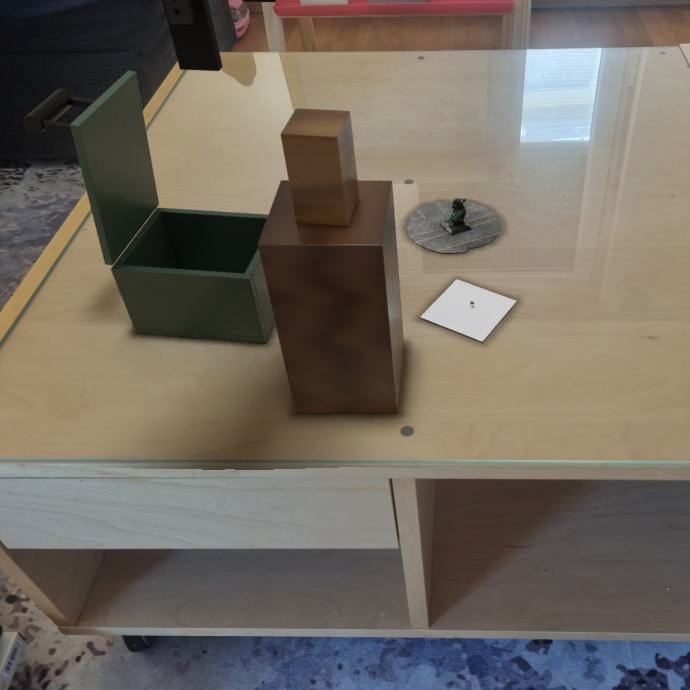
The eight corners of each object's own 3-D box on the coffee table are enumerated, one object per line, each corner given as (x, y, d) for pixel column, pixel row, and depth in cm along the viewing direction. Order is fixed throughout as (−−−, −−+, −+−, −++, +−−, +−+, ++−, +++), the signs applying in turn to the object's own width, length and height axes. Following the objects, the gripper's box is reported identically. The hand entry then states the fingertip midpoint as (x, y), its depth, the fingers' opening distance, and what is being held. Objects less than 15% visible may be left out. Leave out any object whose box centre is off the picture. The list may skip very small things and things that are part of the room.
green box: (295, 278, 89) (282, 215, 83) (265, 343, 80) (249, 278, 74) (177, 269, 90) (157, 207, 84) (135, 333, 82) (110, 268, 76)
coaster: (419, 317, 83) (419, 311, 83) (456, 279, 88) (456, 274, 88) (482, 341, 80) (482, 336, 80) (516, 301, 85) (517, 295, 85)
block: (348, 226, 61) (337, 136, 56) (296, 223, 62) (280, 133, 56) (359, 198, 64) (350, 110, 59) (310, 195, 65) (295, 107, 59)
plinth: (295, 413, 73) (257, 244, 59) (311, 343, 80) (280, 179, 67) (397, 413, 73) (382, 245, 59) (404, 344, 80) (392, 180, 67)
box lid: (136, 71, 73) (64, 59, 73) (78, 125, 65) (-2, 112, 65) (159, 204, 84) (97, 193, 84) (112, 266, 75) (43, 253, 75)
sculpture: (515, 219, 99) (501, 198, 91) (486, 281, 98) (469, 266, 91) (439, 189, 103) (418, 167, 95) (410, 249, 102) (388, 232, 95)
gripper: (122, -369, 32) (228, 107, 46) (281, -359, 50) (321, -21, 64) (-46, -368, 32) (111, 102, 47) (173, -359, 50) (237, -23, 65)
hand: (233, 32), depth 55 cm, fingers open, 13 cm apart
